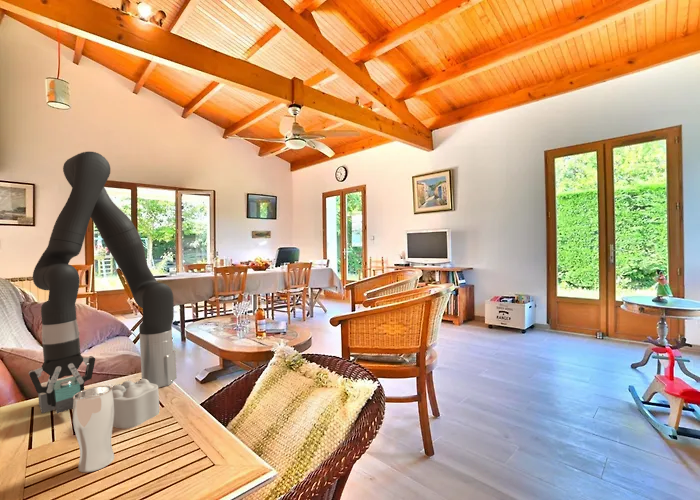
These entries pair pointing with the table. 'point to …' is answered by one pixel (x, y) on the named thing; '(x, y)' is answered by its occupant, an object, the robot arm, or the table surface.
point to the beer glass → (94, 427)
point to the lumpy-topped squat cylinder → (135, 403)
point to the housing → (65, 393)
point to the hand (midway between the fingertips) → (66, 401)
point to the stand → (43, 399)
